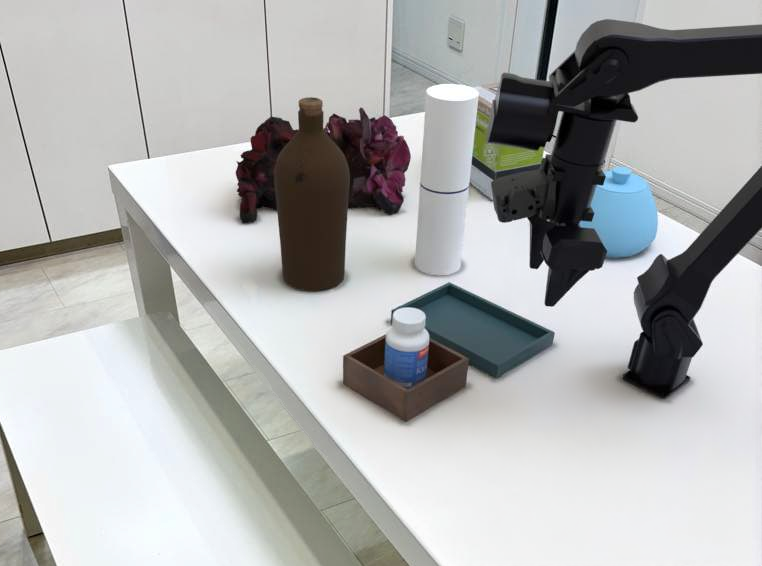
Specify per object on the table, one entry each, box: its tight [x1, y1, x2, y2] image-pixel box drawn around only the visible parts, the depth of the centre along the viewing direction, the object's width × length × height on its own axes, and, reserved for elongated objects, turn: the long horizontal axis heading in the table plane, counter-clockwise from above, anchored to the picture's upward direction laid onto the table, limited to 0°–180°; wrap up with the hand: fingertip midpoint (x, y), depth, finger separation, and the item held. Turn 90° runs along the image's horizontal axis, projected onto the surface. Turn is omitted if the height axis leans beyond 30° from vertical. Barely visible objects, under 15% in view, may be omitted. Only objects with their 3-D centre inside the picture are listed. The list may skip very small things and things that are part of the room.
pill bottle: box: [384, 307, 429, 390], centre depth 107 cm, size 6×5×10 cm
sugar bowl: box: [579, 166, 659, 259], centre depth 138 cm, size 15×15×12 cm
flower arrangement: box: [235, 107, 412, 224], centre depth 146 cm, size 31×20×15 cm, turn 107°
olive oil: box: [274, 96, 350, 292], centre depth 122 cm, size 11×11×25 cm
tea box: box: [469, 82, 545, 201], centre depth 154 cm, size 15×10×15 cm, turn 25°
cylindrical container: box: [414, 83, 479, 276], centre depth 126 cm, size 7×7×25 cm
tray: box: [390, 281, 556, 379], centre depth 119 cm, size 19×12×2 cm, turn 44°
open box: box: [342, 333, 470, 423], centre depth 109 cm, size 11×11×4 cm
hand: (541, 286), depth 105 cm, fingers open, 9 cm apart
